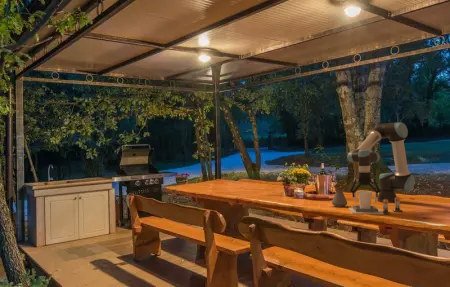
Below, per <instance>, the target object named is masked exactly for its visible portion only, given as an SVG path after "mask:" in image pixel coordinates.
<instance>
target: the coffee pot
mask: <svg viewBox="0 0 450 287" xmlns="http://www.w3.org/2000/svg"><path fill="white" fill-rule="evenodd" d="M349 187H351V186H350V185H349V184H348V185H346V186H345V187H344V188H343V189H341V188H335V189H334V191H335V192H334V195H333V198H332V200H331V204H332V205H333V206H334V207H336V208H343V207H344V208H345V207H346V206H347V205H348V201H347V199H346V196H345V193H344V192H345V191H346V190H348V188H349Z"/></svg>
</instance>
